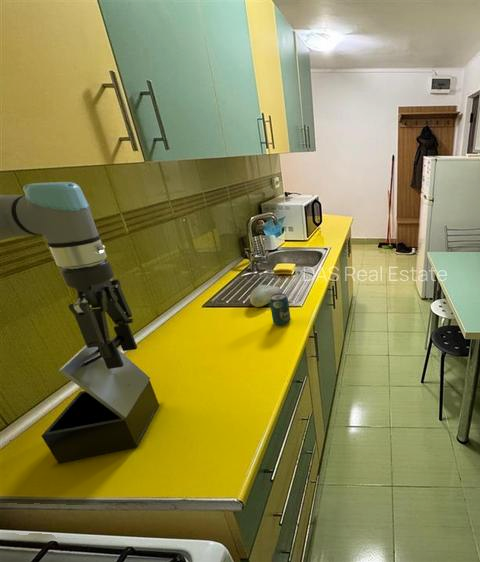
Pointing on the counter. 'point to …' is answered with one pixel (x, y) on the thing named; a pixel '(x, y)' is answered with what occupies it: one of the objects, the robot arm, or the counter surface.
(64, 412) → the black hollow box
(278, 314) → the soda can
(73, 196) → the robot arm
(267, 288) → the rock
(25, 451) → the counter surface
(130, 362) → the lid
